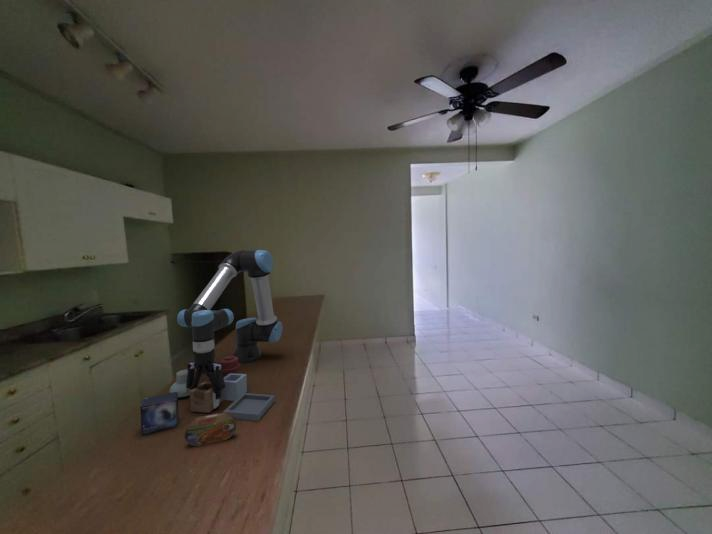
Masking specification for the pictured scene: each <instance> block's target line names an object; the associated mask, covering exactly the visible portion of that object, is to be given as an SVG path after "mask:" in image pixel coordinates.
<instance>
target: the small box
mask: <svg viewBox="0 0 712 534" xmlns="http://www.w3.org/2000/svg"><path fill="white" fill-rule="evenodd" d="M139 410H140V427H141V428H140V432H141V433H140V434H141V436H145V435H148V434H152V433H157V432H162V431H165V430H169V429H175V428H178V424H179V418H180V417H179V397H178V392H174V393H170V392H169V393H163V394H159V395H153V396H149V397H143V399H142V401H141V404H140V409H139Z"/></svg>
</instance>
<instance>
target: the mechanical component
mask: <svg viewBox="0 0 712 534" xmlns="http://www.w3.org/2000/svg"><path fill="white" fill-rule="evenodd" d="M219 364H222V373H223V378H224V377H225V376H227V375H228V374H230V373H234V374H238V370H240V368H241V363H238V357H236V356H234V355H227V356H225V357H222V358H220V359H219V361H218V365H219Z"/></svg>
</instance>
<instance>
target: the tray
mask: <svg viewBox="0 0 712 534" xmlns="http://www.w3.org/2000/svg"><path fill="white" fill-rule="evenodd" d="M275 402H276V395H275V394H261V393H251V392H250V393H249V392H246V393H243V394H242V395H241V396H240V397H239V398H238V399H237V400H235V401H233V402H232V403H231V404H230V405H229V406H227V408H226V409H224V410H223V412H222V413H230V414H232V415H233V416H234V417H235V419H236V420H239V421H240V420H241V421H252V422H260V420H261V419H262V417H263V416H265V414H266V412H267V411H269V409H270V408H271V407H272V405H273V404H274V403H275Z"/></svg>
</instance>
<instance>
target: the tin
mask: <svg viewBox="0 0 712 534" xmlns="http://www.w3.org/2000/svg"><path fill="white" fill-rule="evenodd" d="M236 429H237V419H235V417H234V416H233V415H232V414H230V413H223V412H222V413H220V412H219V413H215V414H209V415H204V416H198V417H196V418H194V419H192V421H191V422H190V423H189V424H188V425H187V427H186V429H185V431H184V439H185V441H186V443H187V444H189V445H190V446H193V447H200V446H205V445H209V444H215V443H220V442H225V441H227V440H229V439H230V438H231V437H232V436H233V435H234V434H235V432H236Z"/></svg>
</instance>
